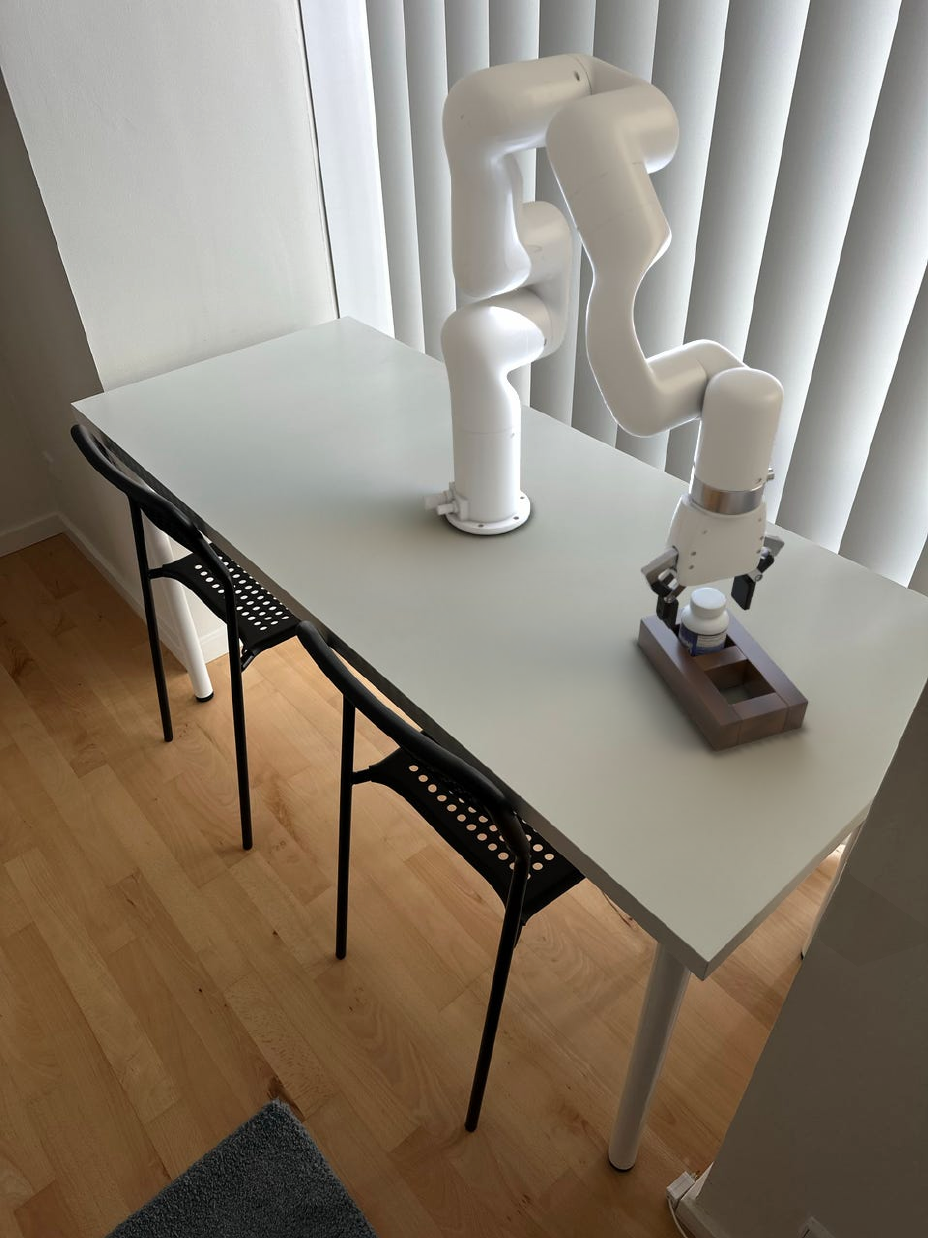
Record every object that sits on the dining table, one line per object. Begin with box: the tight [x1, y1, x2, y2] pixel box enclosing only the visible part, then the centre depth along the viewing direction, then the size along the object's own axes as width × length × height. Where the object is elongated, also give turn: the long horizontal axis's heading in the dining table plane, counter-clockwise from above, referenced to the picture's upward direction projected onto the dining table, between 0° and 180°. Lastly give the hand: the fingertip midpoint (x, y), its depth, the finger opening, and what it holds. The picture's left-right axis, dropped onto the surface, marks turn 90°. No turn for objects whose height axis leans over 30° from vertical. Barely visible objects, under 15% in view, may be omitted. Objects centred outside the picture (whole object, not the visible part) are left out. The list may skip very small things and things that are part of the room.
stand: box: [637, 607, 809, 752], centre depth 110 cm, size 11×19×4 cm, turn 18°
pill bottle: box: [678, 587, 729, 657], centre depth 112 cm, size 5×5×10 cm
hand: (703, 612), depth 110 cm, fingers open, 9 cm apart
